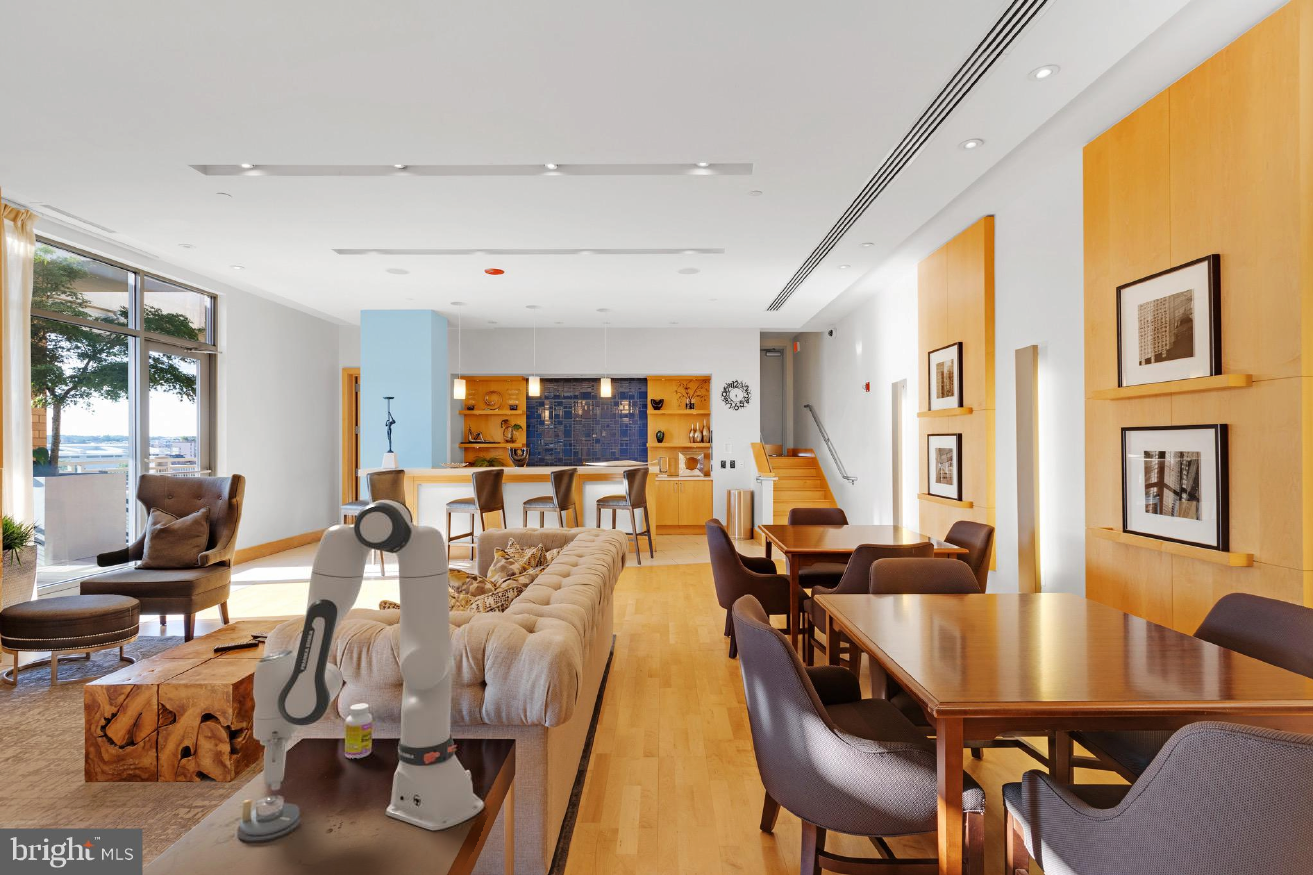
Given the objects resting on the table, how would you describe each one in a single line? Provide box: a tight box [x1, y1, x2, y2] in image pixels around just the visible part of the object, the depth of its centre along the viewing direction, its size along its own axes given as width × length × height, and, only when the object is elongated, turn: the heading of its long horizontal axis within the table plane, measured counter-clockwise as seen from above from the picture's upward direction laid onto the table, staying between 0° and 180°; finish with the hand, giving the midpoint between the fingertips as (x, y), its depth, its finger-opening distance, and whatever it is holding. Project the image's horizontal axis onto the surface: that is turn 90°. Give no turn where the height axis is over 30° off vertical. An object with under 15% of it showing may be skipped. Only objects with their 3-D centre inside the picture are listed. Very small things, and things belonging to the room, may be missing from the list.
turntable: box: [239, 799, 300, 835], centre depth 148 cm, size 11×11×5 cm
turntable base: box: [237, 812, 302, 844], centre depth 148 cm, size 12×12×1 cm
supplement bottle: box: [344, 702, 373, 760], centre depth 186 cm, size 7×7×13 cm
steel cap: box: [255, 795, 285, 823], centre depth 148 cm, size 5×5×4 cm
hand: (276, 787), depth 155 cm, fingers closed
